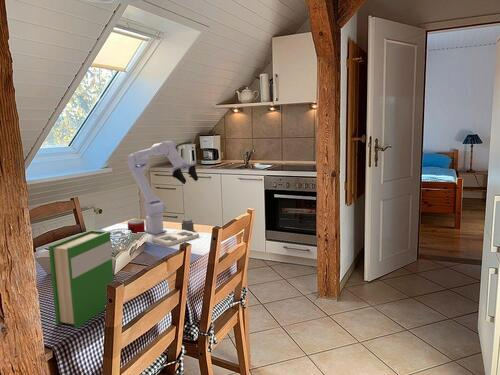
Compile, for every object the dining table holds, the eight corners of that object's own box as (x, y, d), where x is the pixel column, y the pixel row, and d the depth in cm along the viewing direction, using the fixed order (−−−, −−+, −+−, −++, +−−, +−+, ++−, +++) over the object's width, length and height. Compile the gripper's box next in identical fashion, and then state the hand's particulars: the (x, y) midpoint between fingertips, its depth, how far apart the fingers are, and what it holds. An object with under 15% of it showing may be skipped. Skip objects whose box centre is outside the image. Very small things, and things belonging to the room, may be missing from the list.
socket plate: (152, 241, 200) (152, 237, 199) (183, 232, 214) (183, 228, 214) (167, 246, 192) (167, 241, 191) (199, 236, 207) (198, 232, 206)
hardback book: (76, 328, 117) (69, 248, 113) (56, 324, 119) (48, 246, 115) (115, 302, 133) (109, 231, 129) (96, 299, 135) (90, 229, 131)
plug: (181, 230, 218) (181, 220, 217) (188, 229, 221) (187, 218, 220) (187, 232, 215) (186, 221, 214) (193, 230, 219) (193, 219, 218)
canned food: (147, 240, 201) (146, 219, 199) (141, 245, 193) (140, 223, 192) (132, 240, 202) (131, 218, 200) (126, 245, 194) (124, 222, 192)
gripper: (168, 156, 192) (183, 178, 188) (191, 153, 203) (205, 173, 199) (162, 166, 196) (176, 188, 192) (185, 162, 207) (199, 182, 203)
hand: (191, 181), depth 196 cm, fingers open, 7 cm apart
